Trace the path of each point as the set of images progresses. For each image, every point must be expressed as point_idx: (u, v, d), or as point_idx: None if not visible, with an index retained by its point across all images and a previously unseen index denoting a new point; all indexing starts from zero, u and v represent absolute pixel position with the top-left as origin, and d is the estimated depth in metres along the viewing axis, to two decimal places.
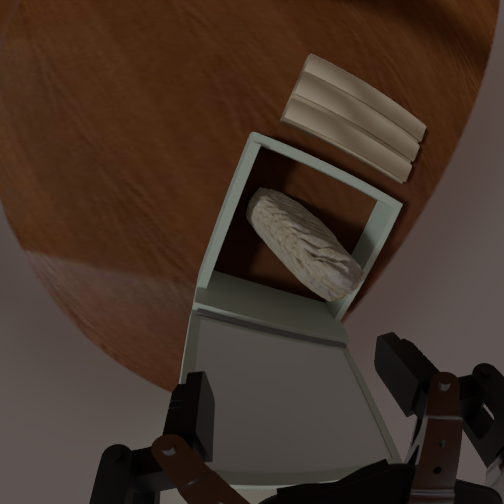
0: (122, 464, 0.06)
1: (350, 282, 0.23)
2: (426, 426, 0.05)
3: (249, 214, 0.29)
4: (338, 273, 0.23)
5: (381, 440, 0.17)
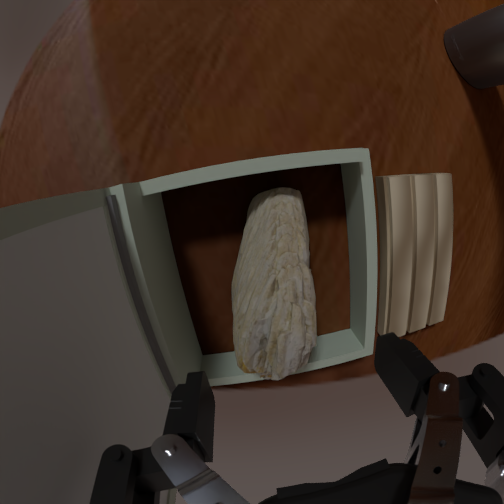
0: (122, 464, 0.06)
1: (295, 368, 0.15)
2: (426, 426, 0.05)
3: (267, 194, 0.20)
4: (301, 346, 0.14)
5: None
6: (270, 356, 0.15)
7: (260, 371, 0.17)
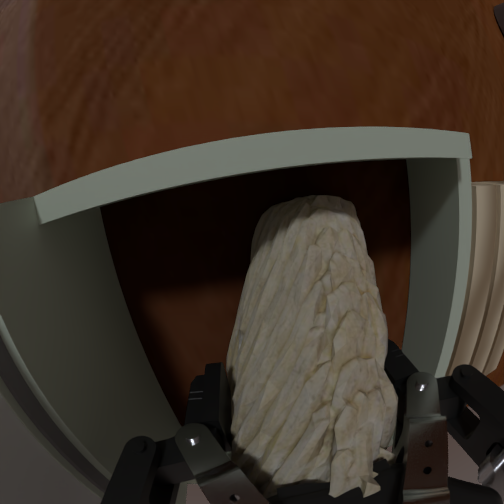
0: (146, 455, 0.06)
1: None
2: (409, 428, 0.05)
3: (293, 210, 0.10)
4: None
5: None
6: None
7: None
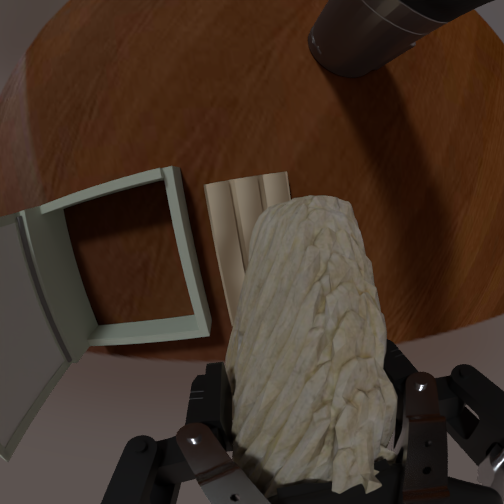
0: (147, 455, 0.06)
1: None
2: (408, 428, 0.05)
3: (291, 211, 0.10)
4: None
5: (11, 430, 0.12)
6: None
7: None
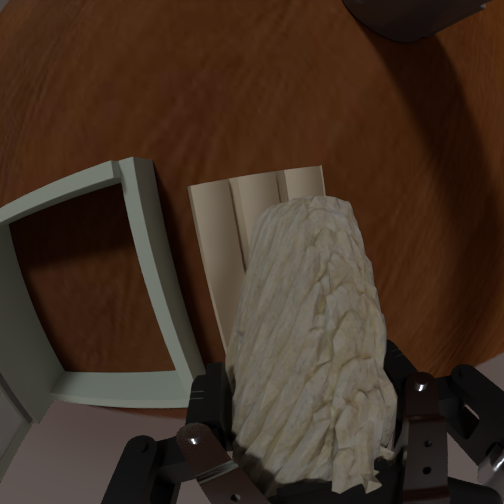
0: (147, 455, 0.06)
1: None
2: (408, 428, 0.05)
3: (291, 211, 0.10)
4: None
5: None
6: None
7: None
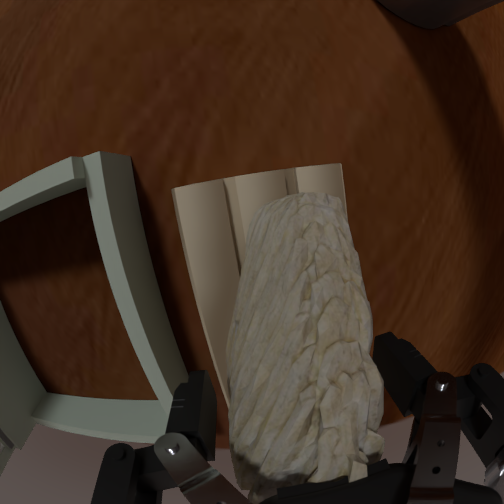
0: (125, 463, 0.06)
1: None
2: (424, 426, 0.05)
3: (283, 206, 0.11)
4: None
5: None
6: None
7: None
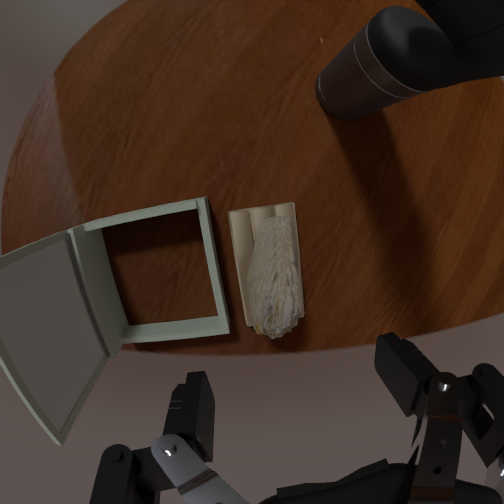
0: (122, 464, 0.06)
1: (289, 323, 0.28)
2: (426, 426, 0.05)
3: (269, 221, 0.33)
4: (292, 308, 0.27)
5: (65, 417, 0.19)
6: (274, 316, 0.28)
7: (268, 329, 0.30)
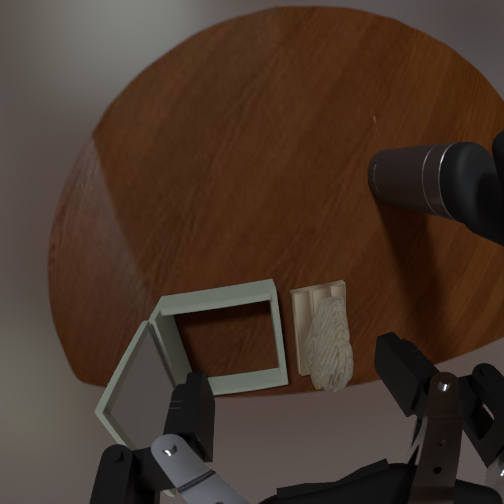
0: (122, 464, 0.06)
1: (345, 386, 0.34)
2: (426, 426, 0.05)
3: (328, 305, 0.39)
4: (348, 378, 0.33)
5: None
6: (335, 383, 0.34)
7: (327, 388, 0.36)
